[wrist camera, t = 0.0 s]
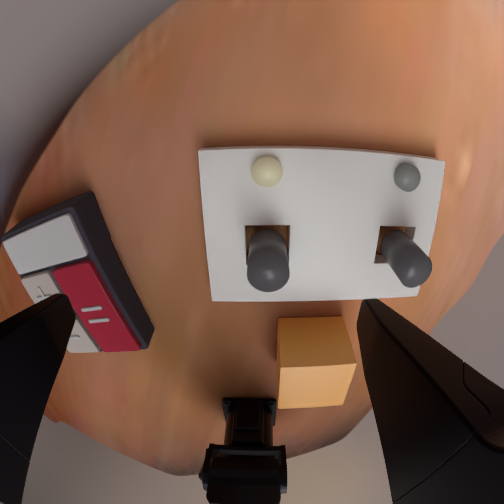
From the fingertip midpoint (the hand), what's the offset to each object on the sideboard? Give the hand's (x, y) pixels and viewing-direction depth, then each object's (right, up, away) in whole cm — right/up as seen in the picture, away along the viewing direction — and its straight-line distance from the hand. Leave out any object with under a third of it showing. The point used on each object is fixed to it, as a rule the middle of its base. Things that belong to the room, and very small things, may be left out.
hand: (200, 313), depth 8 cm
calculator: (-15, -1, +18) cm, 24 cm away
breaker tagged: (+2, +2, +14) cm, 14 cm away
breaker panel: (+7, +4, +14) cm, 16 cm away
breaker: (+12, +2, +13) cm, 18 cm away
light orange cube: (+7, -7, +20) cm, 22 cm away
